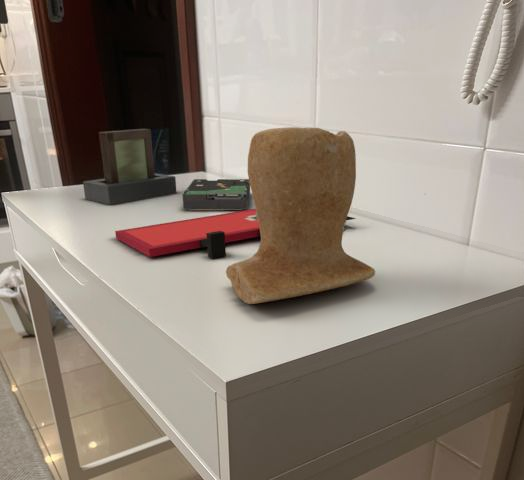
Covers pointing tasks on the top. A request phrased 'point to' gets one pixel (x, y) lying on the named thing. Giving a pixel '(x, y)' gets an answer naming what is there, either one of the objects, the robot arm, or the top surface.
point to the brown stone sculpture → (299, 215)
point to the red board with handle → (194, 234)
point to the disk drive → (217, 194)
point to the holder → (129, 189)
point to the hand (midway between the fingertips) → (28, 22)
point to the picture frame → (127, 155)
